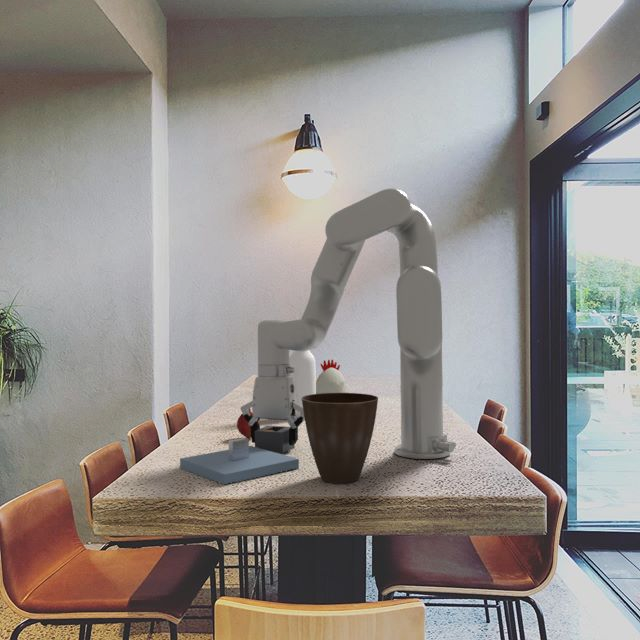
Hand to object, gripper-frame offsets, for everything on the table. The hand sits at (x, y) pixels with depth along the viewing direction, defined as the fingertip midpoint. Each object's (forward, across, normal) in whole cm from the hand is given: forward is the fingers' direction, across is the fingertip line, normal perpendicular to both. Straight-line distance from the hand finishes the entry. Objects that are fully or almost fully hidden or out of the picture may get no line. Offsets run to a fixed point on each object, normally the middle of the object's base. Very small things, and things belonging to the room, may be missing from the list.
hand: (274, 442), depth 145 cm
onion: (+2, +12, -11) cm, 16 cm away
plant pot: (+2, -23, +20) cm, 31 cm away
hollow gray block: (+2, 0, 0) cm, 2 cm away
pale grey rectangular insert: (0, 0, +18) cm, 18 cm away
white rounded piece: (+2, +16, -92) cm, 93 cm away
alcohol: (+2, +11, -47) cm, 48 cm away
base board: (+2, 0, +18) cm, 18 cm away
